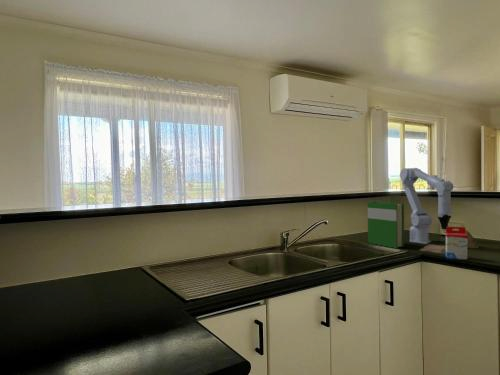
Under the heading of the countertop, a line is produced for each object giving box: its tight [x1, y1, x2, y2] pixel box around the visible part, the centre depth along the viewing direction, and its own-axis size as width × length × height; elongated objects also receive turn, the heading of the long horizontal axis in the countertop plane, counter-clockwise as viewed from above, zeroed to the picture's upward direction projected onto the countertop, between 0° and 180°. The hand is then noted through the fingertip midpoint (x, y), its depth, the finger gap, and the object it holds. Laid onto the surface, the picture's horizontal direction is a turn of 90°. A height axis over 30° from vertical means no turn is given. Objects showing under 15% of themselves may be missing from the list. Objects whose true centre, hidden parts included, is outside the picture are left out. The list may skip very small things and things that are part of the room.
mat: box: [418, 246, 446, 254], centre depth 185 cm, size 13×12×1 cm
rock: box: [465, 229, 479, 249], centre depth 189 cm, size 11×9×10 cm
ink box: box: [445, 226, 468, 260], centre depth 167 cm, size 8×5×15 cm, turn 68°
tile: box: [423, 244, 446, 253], centre depth 184 cm, size 8×2×8 cm
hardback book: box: [367, 201, 405, 249], centre depth 198 cm, size 18×7×24 cm, turn 37°
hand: (444, 229), depth 190 cm, fingers closed
